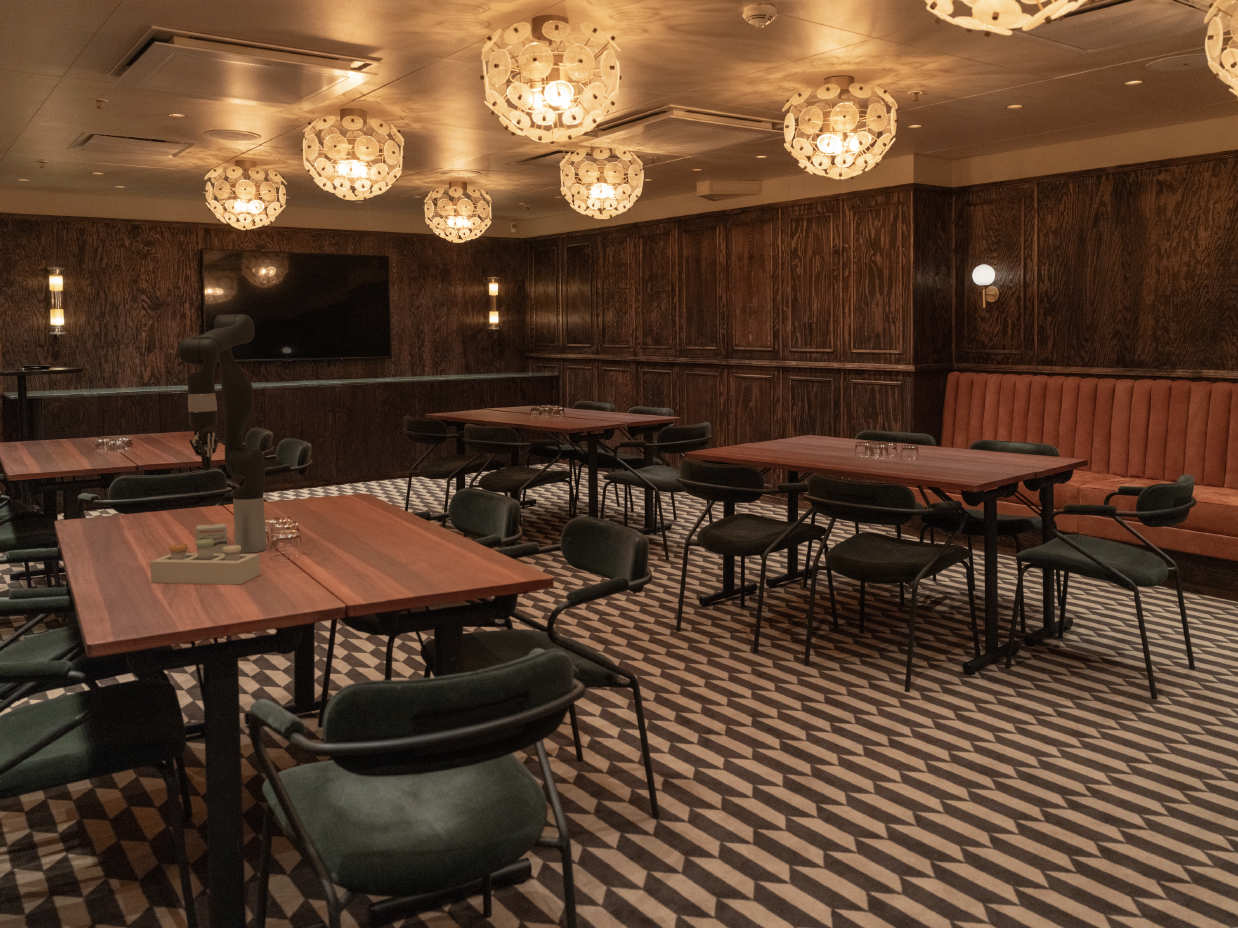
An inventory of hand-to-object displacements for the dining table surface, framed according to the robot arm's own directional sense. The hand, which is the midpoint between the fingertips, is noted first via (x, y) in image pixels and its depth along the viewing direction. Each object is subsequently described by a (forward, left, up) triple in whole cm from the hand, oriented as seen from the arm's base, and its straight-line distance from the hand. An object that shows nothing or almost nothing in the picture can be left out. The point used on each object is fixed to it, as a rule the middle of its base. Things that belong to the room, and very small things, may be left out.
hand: (207, 469), depth 282 cm
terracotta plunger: (+7, -6, -29) cm, 31 cm away
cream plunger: (+7, +10, -29) cm, 31 cm away
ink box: (-11, -6, -31) cm, 33 cm away
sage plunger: (+7, +2, -28) cm, 28 cm away
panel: (+7, +2, -30) cm, 31 cm away
